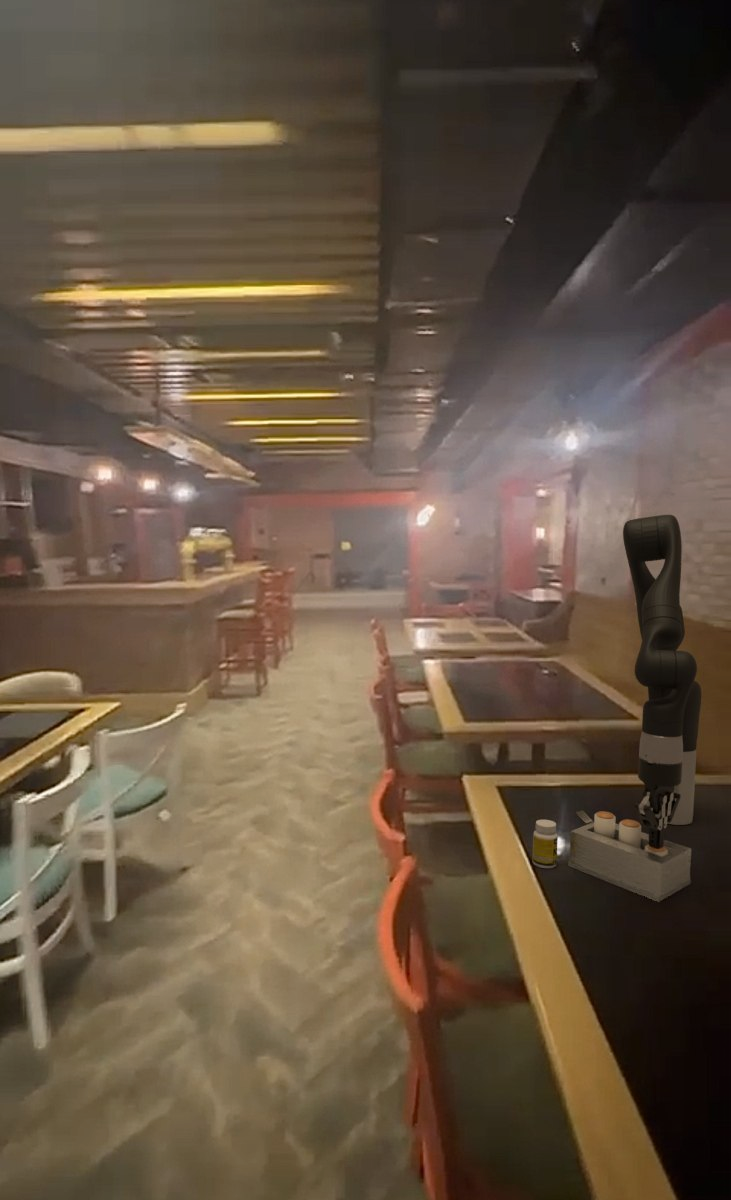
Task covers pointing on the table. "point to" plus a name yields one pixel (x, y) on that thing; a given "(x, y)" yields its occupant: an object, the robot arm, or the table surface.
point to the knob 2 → (630, 832)
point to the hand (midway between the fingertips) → (655, 846)
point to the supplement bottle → (545, 844)
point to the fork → (585, 817)
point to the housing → (630, 863)
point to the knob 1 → (605, 824)
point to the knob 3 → (657, 850)
